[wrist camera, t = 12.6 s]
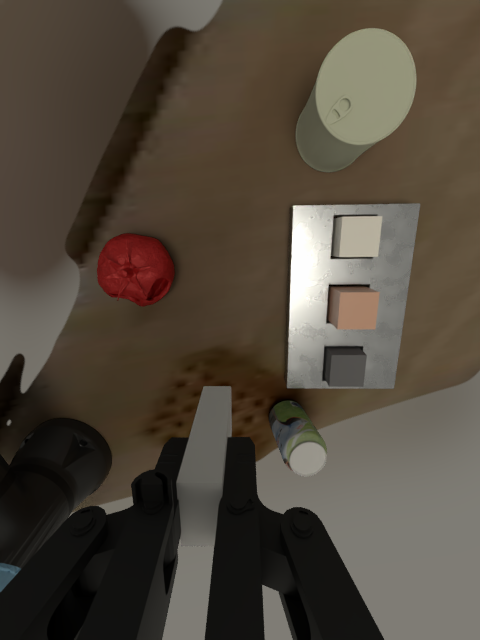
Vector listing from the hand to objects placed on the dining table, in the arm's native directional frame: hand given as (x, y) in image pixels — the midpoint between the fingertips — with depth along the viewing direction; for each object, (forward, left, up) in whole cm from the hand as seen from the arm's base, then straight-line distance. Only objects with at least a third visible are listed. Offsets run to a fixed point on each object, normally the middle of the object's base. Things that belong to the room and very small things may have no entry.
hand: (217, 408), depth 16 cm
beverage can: (+8, -19, -29) cm, 36 cm away
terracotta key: (+15, 0, -27) cm, 31 cm away
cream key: (+15, +9, -28) cm, 34 cm away
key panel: (+15, 0, -29) cm, 33 cm away
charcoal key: (+15, -9, -28) cm, 33 cm away
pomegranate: (-14, +5, -29) cm, 32 cm away
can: (+12, +22, -29) cm, 39 cm away
